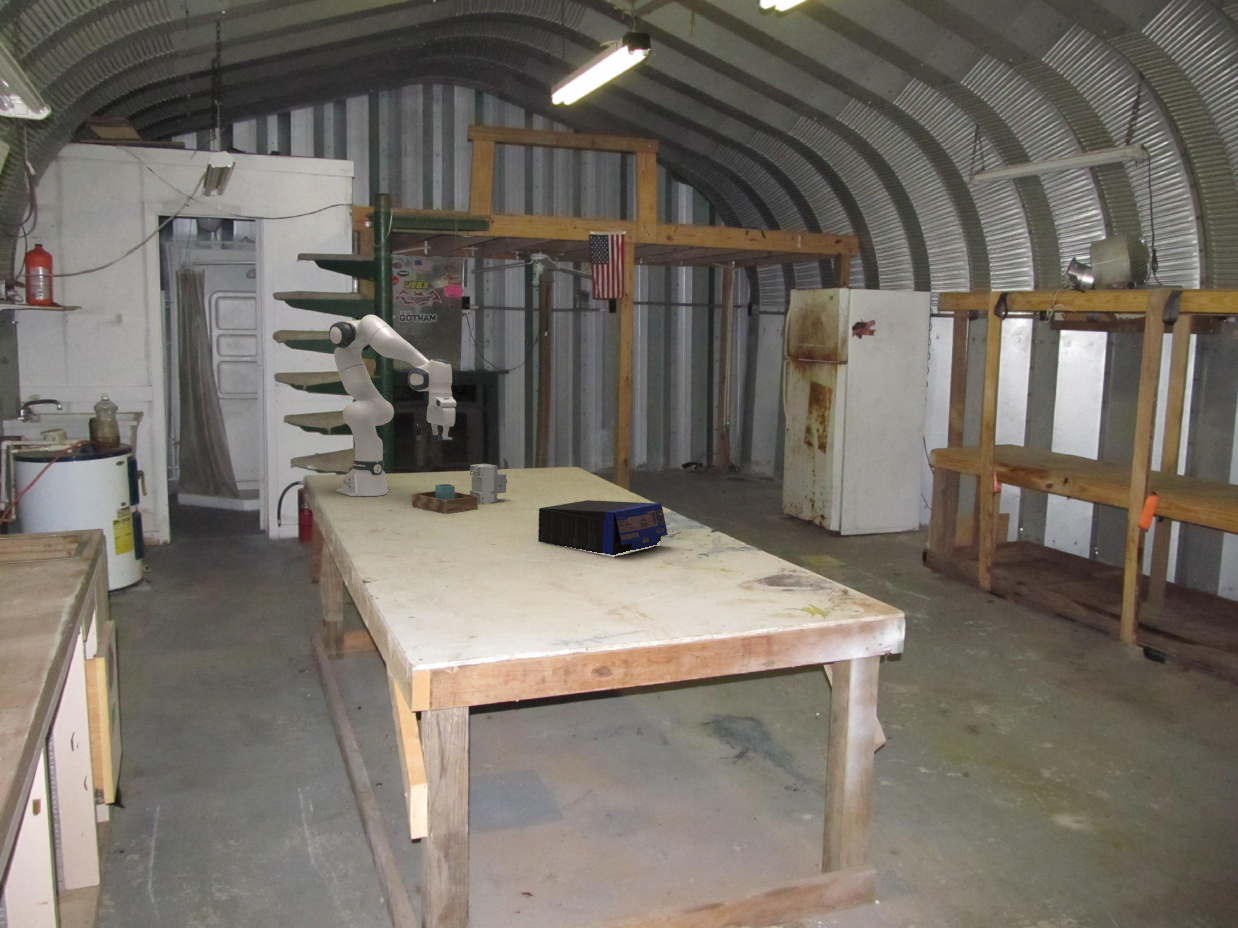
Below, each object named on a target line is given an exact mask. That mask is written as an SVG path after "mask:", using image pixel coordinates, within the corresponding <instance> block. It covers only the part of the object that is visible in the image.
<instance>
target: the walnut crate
mask: <svg viewBox="0 0 1238 928" xmlns="http://www.w3.org/2000/svg"><path fill="white" fill-rule="evenodd" d="M411 496H412V497H411V500H412V501H411V506H413V507H412V508H416V507H417V508H418V509H421V508H422V510H425V509H426V511H431V512H435V511H436V512H435V513H440V514H444V513H445V514H444V515H447V514H446V513H448V514H454V513H461V512H460V511H462V512H467V511H474V509H475V510H479V504H478V496H474V495H470V493H469V494H468V493H462V492H458V491H455V499H451V500H443V499H438V498H435V490H433V491H426V492H417V493H412V494H411Z"/></svg>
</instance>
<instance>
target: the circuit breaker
mask: <svg viewBox="0 0 1238 928" xmlns="http://www.w3.org/2000/svg"><path fill="white" fill-rule="evenodd" d="M469 465H470V468H469V476H470V477H471V489H470V490H469V495H474V496H478V505H480V504H481V505H486V504H485V503H490V504H492V503H491V502H497V503H498V494H504V493H507V483H508V479H507V473H501V472H499V471H498V469H499V467H498V465H494V464H489V463H479V464H469Z"/></svg>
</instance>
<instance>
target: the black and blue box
mask: <svg viewBox="0 0 1238 928" xmlns="http://www.w3.org/2000/svg"><path fill="white" fill-rule="evenodd" d="M663 509H664V508H663V505H662V503H658V502H657V503H656V502H635V501H633V502H631V501H629V502H628V501H613V500H611V501H610V500H592V499H591V500H589V499H587V500H586V499H585V500H582V501H576V502H575V501H574V502H569V503H562V504H557V505H551V506H545V507H544V506H543V507H539V508H538V531H537V532H538V533H537V535H538V537H537V538H538V539H537V541H538V542H539V543H543V542H544V543H543V544H549V545H552V544H554V545H553V546H557V545H559V546H558V547H562V546H567V547H572V548H576V549H582V550H586V551H592V552H597V553H605V554H610V555H616V554H618V553H623V552H626V551H630V550H636V549H641V548H645V547H649V546H653V545H657V543H658V542H659V541H661V542H662V537H665V536H669V534H668V529H667V523H666V520H665V513H664V510H663ZM576 549H575V550H576Z"/></svg>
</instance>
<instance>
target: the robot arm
mask: <svg viewBox="0 0 1238 928" xmlns="http://www.w3.org/2000/svg"><path fill="white" fill-rule="evenodd" d="M328 338H329V341H330V343H331V344H332V345H333V346H334V347H336V348H335V349H334V352H333V355H334V362H335V366H336V369H337V372H338V375H339V377H340V379H341V383H342V385H343V388H344V390H345V392H346V394H348V395H350V396H351V397H352V398H353V399H354V401H353V402H350V403H347V404H346V405H345V406H344V408H343V411H342V417H343V421H344V423H345V424H346V425H348V427H349V428H350V430H351V432H352V436H353V440H354V457H355V459H354V460H351V462H352V463H351V464H352V467H351V470H350V471H349V472H348V473H347V474H346V475H344V476H343V479H342V487H339V488H337V489H336V492H337V493H340V494H343V495H346V496H349V497H377V496H378V497H379V496H384V495H387V494H388V492H390V490H389V488H388V487H387V477H386V476H387V475H386V472H385V471H384V469H385V461H384V455H383V454H384V444H383V440H382V439H381V438H380V437H379V435H378V433H377V429H376V427H377V426H379V427H380V426H383V425H385V424H387V423H389V422H391V420H393V417H394V415H395V410H394V406H393V405H392V403H391V402H390V401H388V400H386V399H385V398H384V397H383V395H382V394H381V393H380V392H379V391H378V389H377V387H376V386H375V385H374V382H373V381H372V379H371V377H370V373H369V371H368V369H367V366H366V364H365V361H364V359H363V357H362V353H363V351H368V350H369V349H370V347H371V348H372V349H373V350H374V351H375V352H376V353H377V354H379V355H380V356H382V357H384V358H388V359H395V360H400V361H403V362H406V363H408V364H409V365H411V366H412V368H411V369H410V370H409V372H408V375H407V383H408V385H409V387H410V388H411V389H412V390H413V391H416V392H428V405H427V407H426V408H427V409H426V421H427V423H429V424H431V429H432V435H433V436H439V429H438V426H441V427H442V429H443V430H442V432H441V437H442V438H444V439H445V438H447V439H448V436H449V431H450V427H454V426H455V424H456V407H457V401H456V399H455V398H454V397H453V391H452V385H453V371H452V369H453V368H452V365H451V362H450V361H448V359H447V360H446V359H443V358H432V359H429V358H428V357H427V356H426V355H424V353H422V352H421V351H420V350H419V349H417V347H415V346H414V345H412V343H409V342H408V341H407V340H406V339H404V338H403V337H402V336H401V335H400V334H398V332H396V331H395V329H393V328H392V327H391V326H390V325H389V324H388V323H387V322H386V321H384V320H383V319H382V318H380V317H379V316H377V315H375V314H367V315H365V316H363V317H362V318H361V319H352V320H346V321H345V320H344V321H338V322H335V323H333V324H332V325H331V326H330V327H329V329H328Z"/></svg>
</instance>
